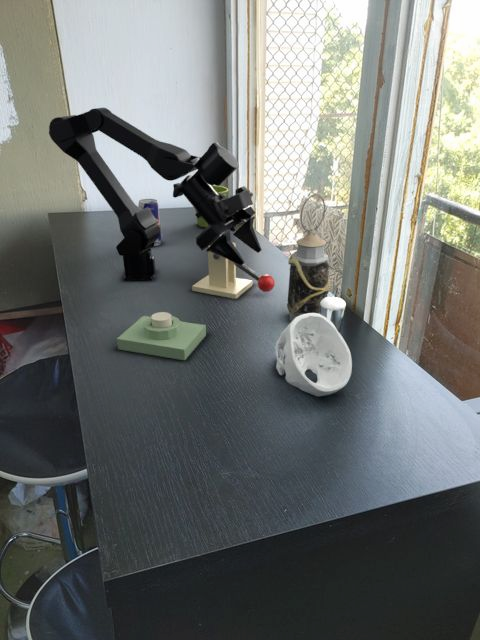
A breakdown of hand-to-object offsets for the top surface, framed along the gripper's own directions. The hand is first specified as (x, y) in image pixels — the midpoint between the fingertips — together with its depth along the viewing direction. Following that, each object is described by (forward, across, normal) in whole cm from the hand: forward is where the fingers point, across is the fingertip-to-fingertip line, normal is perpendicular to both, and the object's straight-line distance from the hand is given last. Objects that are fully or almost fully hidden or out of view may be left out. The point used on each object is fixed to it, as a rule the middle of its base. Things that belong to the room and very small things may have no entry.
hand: (251, 257), depth 114 cm
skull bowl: (+22, -30, -10) cm, 39 cm away
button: (0, -28, +7) cm, 29 cm away
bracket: (+1, 0, +11) cm, 11 cm away
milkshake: (+22, -15, -10) cm, 29 cm away
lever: (+1, 0, +5) cm, 5 cm away
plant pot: (-18, +45, +30) cm, 57 cm away
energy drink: (-22, +21, +34) cm, 46 cm away
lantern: (+17, -8, -5) cm, 19 cm away
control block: (+2, -28, +10) cm, 30 cm away
